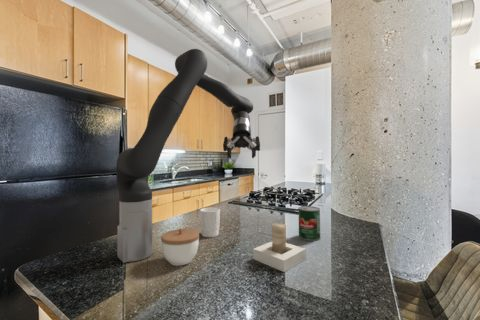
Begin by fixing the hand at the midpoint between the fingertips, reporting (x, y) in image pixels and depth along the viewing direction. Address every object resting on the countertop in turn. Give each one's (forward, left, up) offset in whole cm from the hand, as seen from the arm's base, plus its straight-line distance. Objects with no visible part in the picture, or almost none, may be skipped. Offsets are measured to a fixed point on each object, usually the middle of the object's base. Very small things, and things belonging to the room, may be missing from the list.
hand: (241, 156), depth 83 cm
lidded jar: (-25, 0, -31) cm, 40 cm away
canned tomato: (+20, -16, -31) cm, 40 cm away
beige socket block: (-4, -20, -31) cm, 36 cm away
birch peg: (-4, -19, -31) cm, 36 cm away
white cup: (-5, +13, -31) cm, 34 cm away
